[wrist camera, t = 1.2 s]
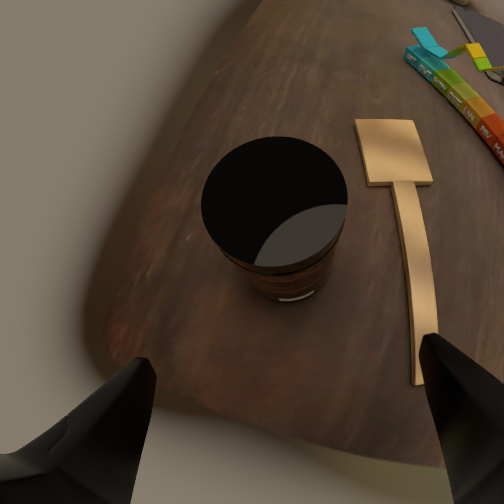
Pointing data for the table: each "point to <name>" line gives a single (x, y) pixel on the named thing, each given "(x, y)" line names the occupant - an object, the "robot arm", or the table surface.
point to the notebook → (484, 38)
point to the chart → (458, 84)
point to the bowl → (462, 2)
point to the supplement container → (277, 214)
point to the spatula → (404, 214)
